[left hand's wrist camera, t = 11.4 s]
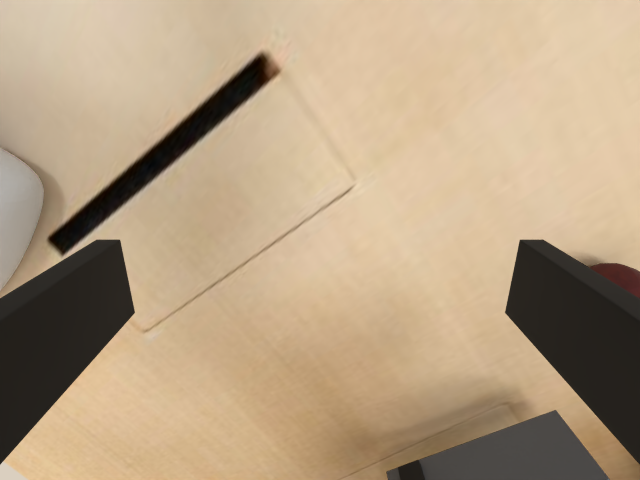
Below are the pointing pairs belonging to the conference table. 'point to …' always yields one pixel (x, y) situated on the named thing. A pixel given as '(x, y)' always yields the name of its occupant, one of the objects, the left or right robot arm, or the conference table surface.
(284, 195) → the conference table surface
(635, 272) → the dark red ball
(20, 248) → the projector
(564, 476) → the bar
